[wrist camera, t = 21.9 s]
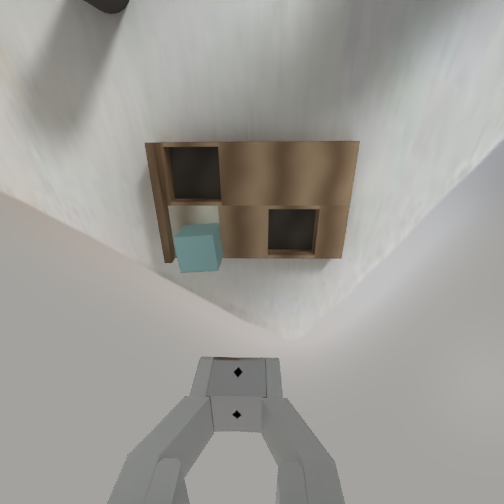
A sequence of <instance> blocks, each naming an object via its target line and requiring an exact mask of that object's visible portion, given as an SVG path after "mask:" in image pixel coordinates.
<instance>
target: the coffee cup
mask: <svg viewBox="0 0 504 504" xmlns="http://www.w3.org/2000/svg"><path fill="white" fill-rule="evenodd" d="M84 1H86V2H88V3H89V4H91V5H93V6H94V7H96V8H98V9H99V10H101V11H103V12H106V13H110V14H113V13H119V12H120V11H121V10H123V9H124V8H125V7H126V5H127V4H128V2H129V0H84Z"/></svg>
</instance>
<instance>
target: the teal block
mask: <svg viewBox="0 0 504 504" xmlns="http://www.w3.org/2000/svg"><path fill="white" fill-rule="evenodd" d="M173 240H174V244H175V248H176V253H177V257H178V261H179V266H180V270H181V273H186V272H203V271H218V270H219V266H220V263H221V260H222V257H223V250H222V243H221V236H220V229H219V223H210V224H196V225H184V226H183V227H182V228H181V229H180V231H179V232H178V233H177V234H176V235H175V236H174V237H173Z"/></svg>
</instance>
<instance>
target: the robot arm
mask: <svg viewBox="0 0 504 504" xmlns="http://www.w3.org/2000/svg"><path fill="white" fill-rule="evenodd" d="M214 431H242V432H261V433H262V436H263V438H264V439H265V442H266V443H267V446H268V448H269V449H270V451H271V453H272V455H273V457H274V459H275V461H276V463H277V465H278V478H277V492H276V504H345V502H344V497H343V493H342V489H341V485H340V481H339V476H338V472H337V468H336V464H335V461H334V459H333V458H332V457H331V456H330V454H329V453H328V452H327V450H326V449H325V448H324V446H323V445H322V444H321V443H320V441H319V440H318V439H317V437H316V436H315V435H314V433H313V432H312V430H311V429H310V428H309V427H308V425H307V424H306V423H305V421H304V420H303V419H302V417H301V416H300V415H299V413H298V412H297V411H296V409H295V408H294V407H293V405H292V404H291V403H290V401H289V400H288V399H287V398H283V393H282V384H281V373H280V362H279V359H278V358H228V357H201V358H200V360H199V364H198V367H197V371H196V374H195V378H194V382H193V385H192V389H191V393H190V396H185V397H184V398H183V399H182V400H181V401H180V402H179V403H178V404H177V405H176V407H174V408H173V409H172V411H170V413H169V414H168V415H167V416H166V417H165V418H164V419H163V420H162V421H161V422H160V423H159V424H158V425H157V426H156V427H155V428H154V429H153V430H152V431H151V432H150V433H149V434H148V435H147V436H146V437H145V438H144V439H143V440H142V441H141V442H140V443H139V444H138V445H137V446H136V447H135V448H134V449H133V450H132V451H131V452H130V453H129V454H128V455H127V458H126V460H125V462H124V465H123V467H122V469H121V472H120V474H119V477H118V479H117V481H116V484H115V486H114V489H113V491H112V493H111V496H110V498H109V500H108V503H107V504H190V503H189V499H188V494H187V490H186V485H185V480H184V478H185V476H186V475H187V473H188V472H189V470H190V469H191V467H192V465H193V464H194V463H195V461H196V459H197V458H198V457H199V455H200V453H201V452H202V450H203V449H204V447H205V446H206V444H207V443H208V441H209V440H210V438H211V437H212V435H213V434H214Z"/></svg>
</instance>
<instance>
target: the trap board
mask: <svg viewBox="0 0 504 504" xmlns="http://www.w3.org/2000/svg"><path fill="white" fill-rule="evenodd" d="M359 142H360V141H302V142H175V143H145V148H146V154H147V160H148V166H149V172H150V178H151V184H152V190H153V195H154V201H155V207H156V213H157V219H158V225H159V231H160V237H161V243H162V249H163V255H164V261H165V263H172V262H173V260H174V259H175V258H178V257H177V253H176V248H175V244H174V240H173V237H174V236H175V235H176V234H177V233H178V232H179V231H180V229H181V228H182V227H183V226H184V225H196V224H210V223H219V229H220V236H221V243H222V250H223V257H222V258H342V251H343V245H344V239H345V232H346V226H347V219H348V213H349V207H350V200H351V194H352V187H353V181H354V174H355V168H356V162H357V155H358V149H359Z"/></svg>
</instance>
